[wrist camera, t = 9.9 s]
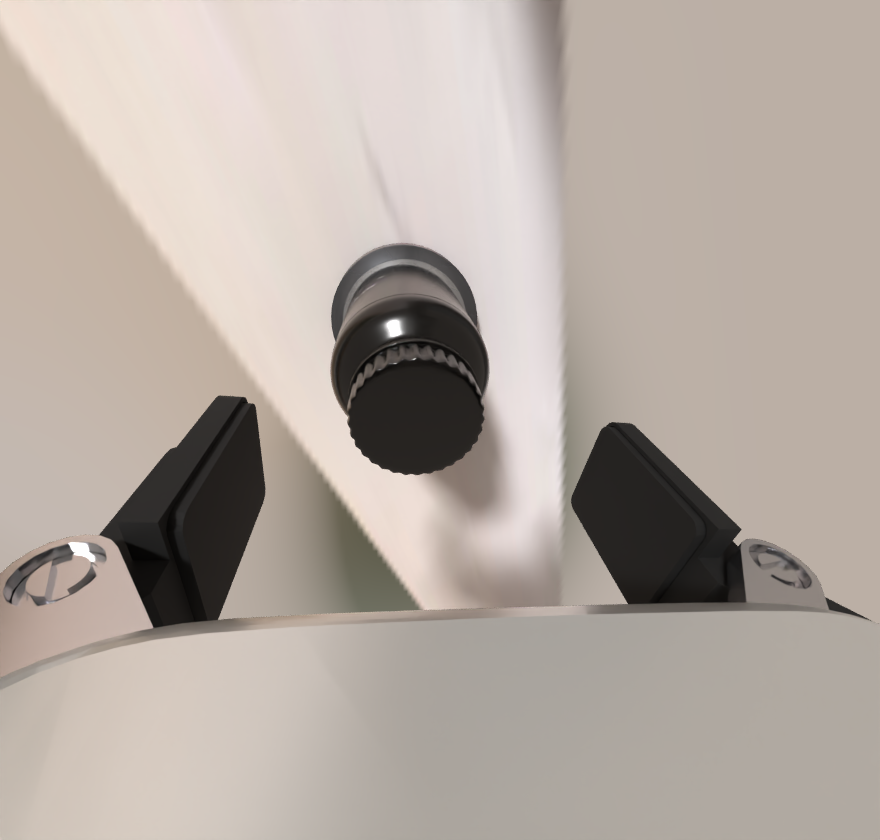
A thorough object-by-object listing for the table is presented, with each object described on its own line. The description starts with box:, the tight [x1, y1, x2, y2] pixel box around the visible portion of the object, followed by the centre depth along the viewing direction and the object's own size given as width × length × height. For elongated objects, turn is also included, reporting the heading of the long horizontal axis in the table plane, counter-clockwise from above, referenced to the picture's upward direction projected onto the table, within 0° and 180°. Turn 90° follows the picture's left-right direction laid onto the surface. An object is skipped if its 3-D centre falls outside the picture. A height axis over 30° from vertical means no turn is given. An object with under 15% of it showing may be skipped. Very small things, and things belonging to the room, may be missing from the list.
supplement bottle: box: [331, 264, 489, 475], centre depth 18 cm, size 7×7×12 cm
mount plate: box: [331, 243, 477, 341], centre depth 24 cm, size 9×9×2 cm
